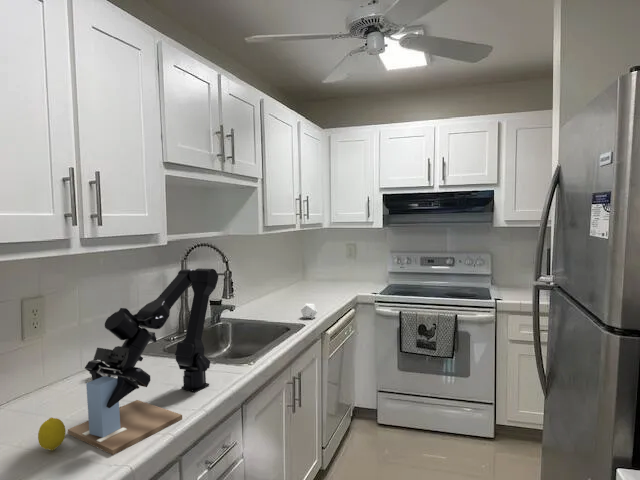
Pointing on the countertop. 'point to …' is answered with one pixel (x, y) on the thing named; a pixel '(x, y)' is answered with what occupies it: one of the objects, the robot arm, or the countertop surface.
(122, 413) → the board
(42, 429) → the lemon
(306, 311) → the die
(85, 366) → the robot arm
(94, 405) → the light blue block
